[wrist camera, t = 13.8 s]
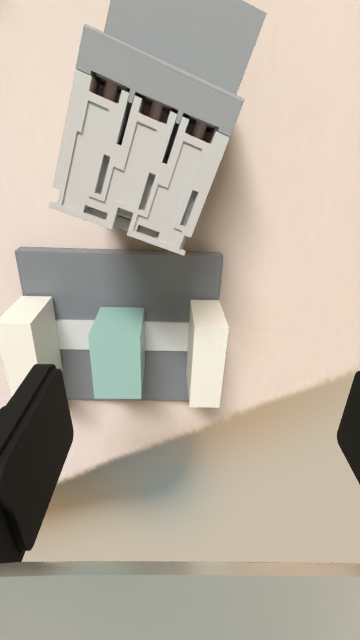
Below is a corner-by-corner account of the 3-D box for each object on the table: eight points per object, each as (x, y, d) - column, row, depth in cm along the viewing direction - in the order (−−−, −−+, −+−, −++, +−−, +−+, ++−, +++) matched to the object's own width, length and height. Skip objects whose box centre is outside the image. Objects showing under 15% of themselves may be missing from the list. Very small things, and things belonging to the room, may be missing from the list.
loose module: (144, 307, 34) (140, 336, 29) (145, 365, 38) (141, 401, 32) (100, 306, 34) (88, 335, 29) (105, 365, 37) (94, 400, 32)
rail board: (221, 252, 34) (234, 278, 27) (207, 392, 42) (215, 440, 35) (20, 246, 33) (-19, 272, 26) (46, 391, 41) (21, 439, 34)
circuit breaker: (238, 39, 26) (313, -78, 13) (176, 215, 32) (182, 260, 19) (148, -7, 25) (125, -192, 11) (100, 185, 31) (47, 212, 17)
